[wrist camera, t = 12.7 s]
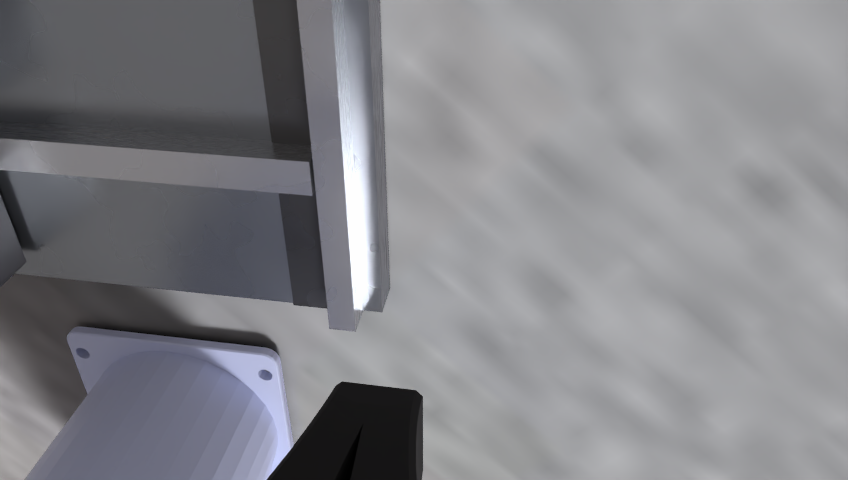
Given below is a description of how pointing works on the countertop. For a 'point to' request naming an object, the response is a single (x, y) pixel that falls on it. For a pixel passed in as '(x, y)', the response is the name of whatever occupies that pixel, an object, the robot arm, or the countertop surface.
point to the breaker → (8, 247)
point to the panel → (199, 147)
